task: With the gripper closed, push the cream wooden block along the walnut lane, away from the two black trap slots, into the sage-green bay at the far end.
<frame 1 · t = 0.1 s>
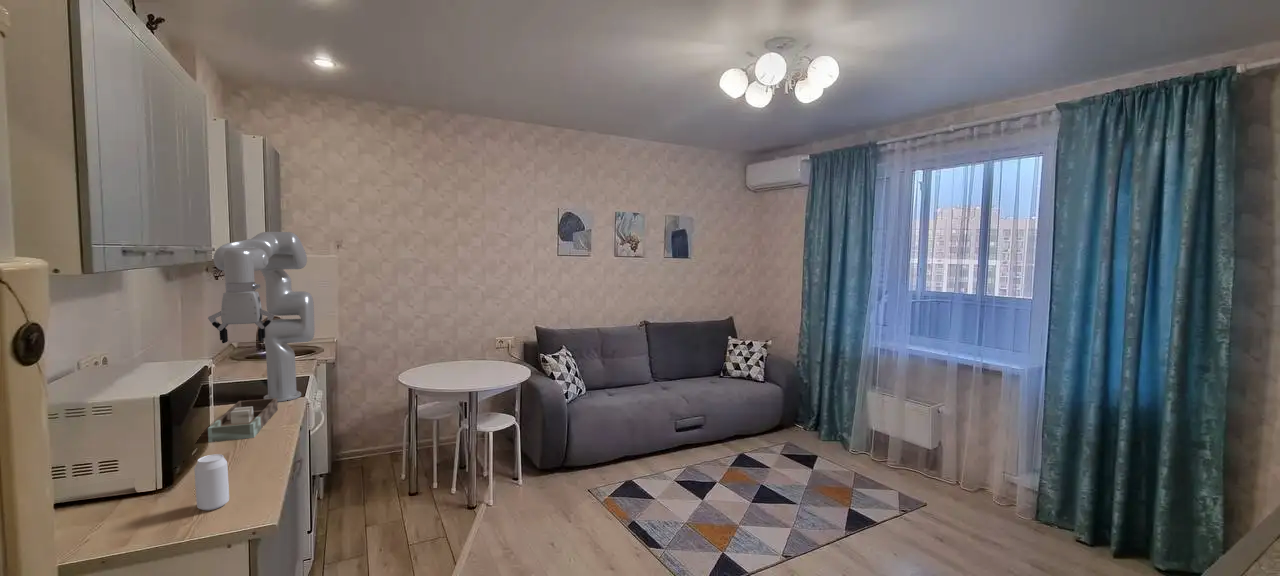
hand: (243, 341, 174), 31 cm above the counter, tool pointing down, fingers open, 9 cm apart
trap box: (246, 424, 188), on the counter
beverage can: (213, 506, 132), on the counter
block: (242, 420, 184), point 2 cm above the counter, touching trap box
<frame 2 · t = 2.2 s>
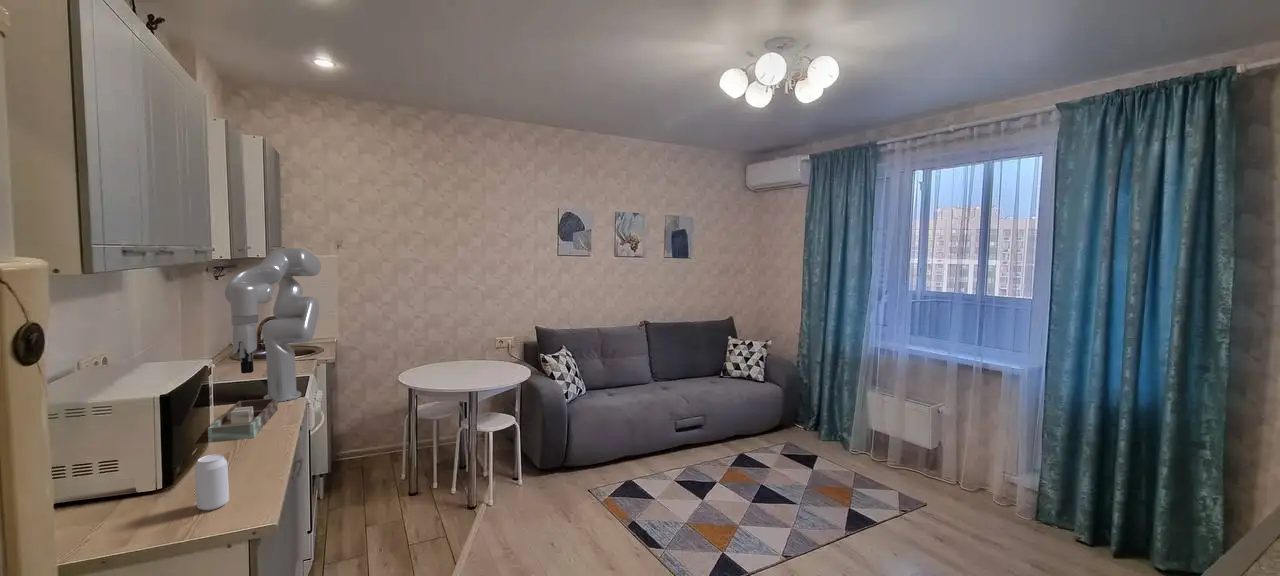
hand: (247, 372, 190), 17 cm above the counter, tool pointing down, fingers closed
nothing on the counter moved.
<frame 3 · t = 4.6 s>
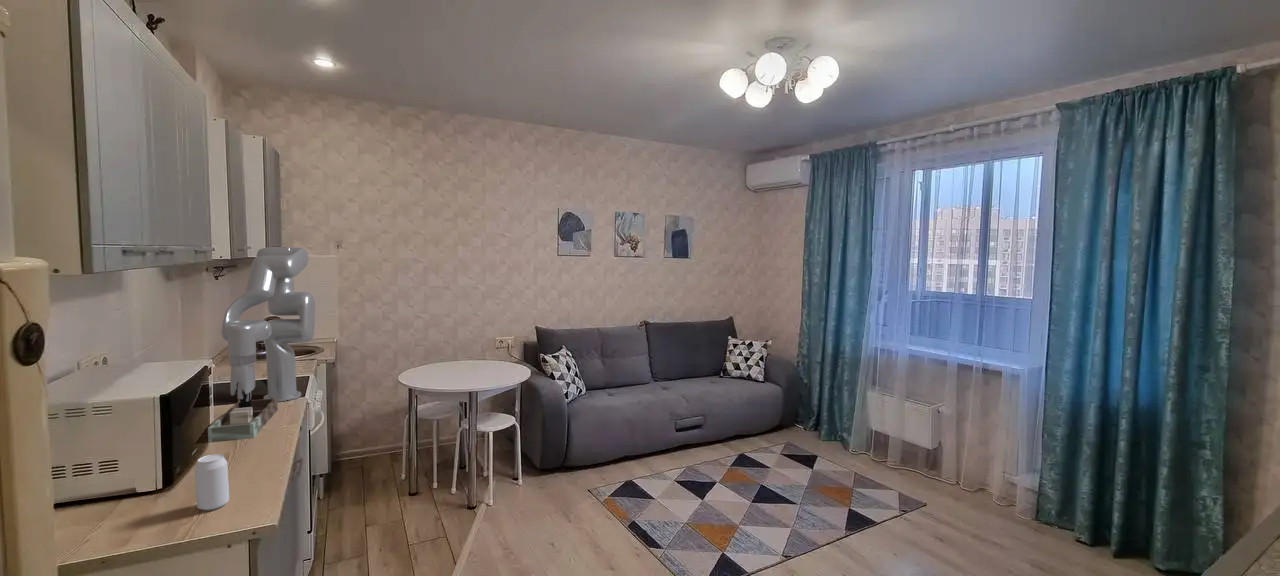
hand: (245, 412, 187), 4 cm above the counter, tool pointing down, fingers closed
block: (241, 421, 183), point 3 cm above the counter, touching gripper, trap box
everything else where it was.
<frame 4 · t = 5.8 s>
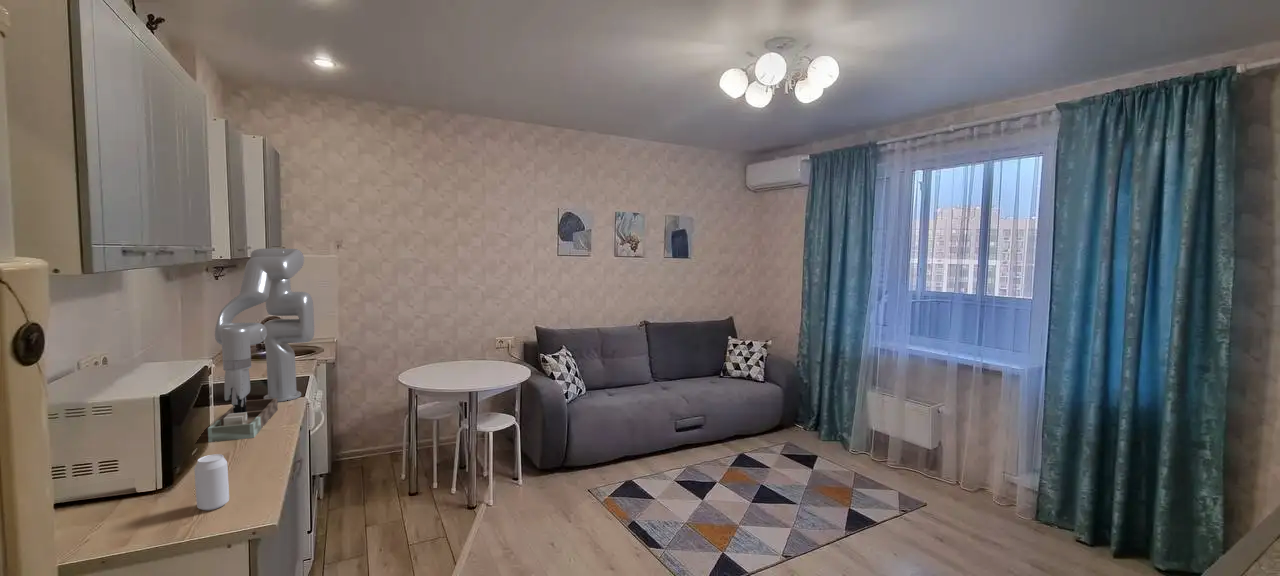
hand: (240, 417, 182), 4 cm above the counter, tool pointing down, fingers closed
block: (236, 427, 178), point 3 cm above the counter, touching gripper, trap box
everything else where it was.
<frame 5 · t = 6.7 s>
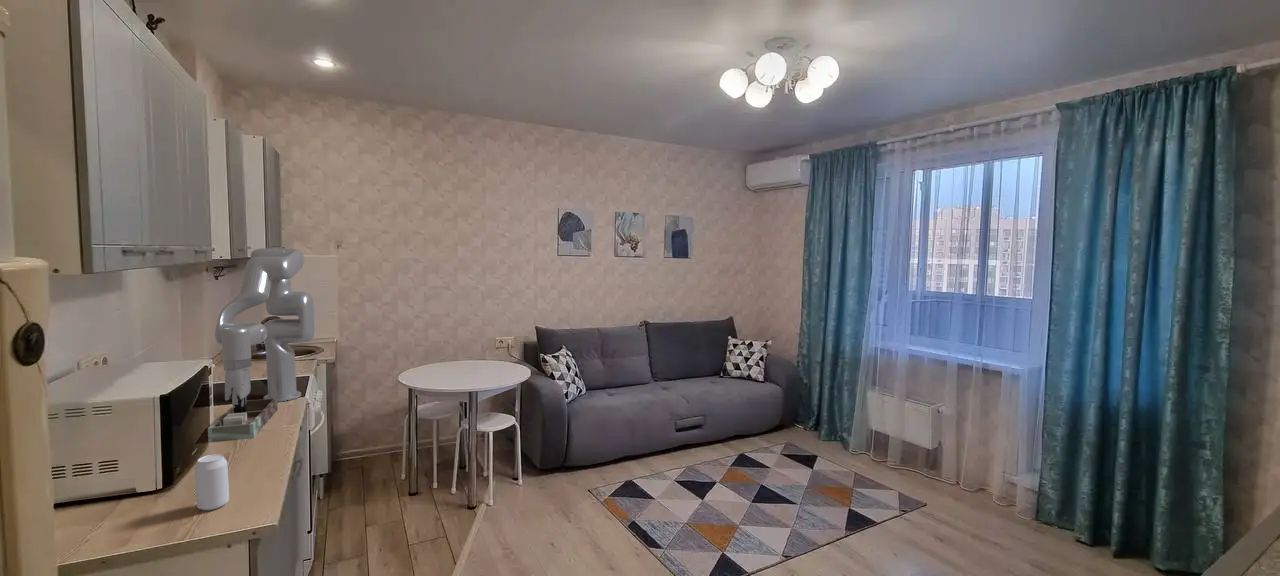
hand: (240, 417, 182), 4 cm above the counter, tool pointing down, fingers closed
block: (235, 427, 178), point 2 cm above the counter, touching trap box
everything else where it was.
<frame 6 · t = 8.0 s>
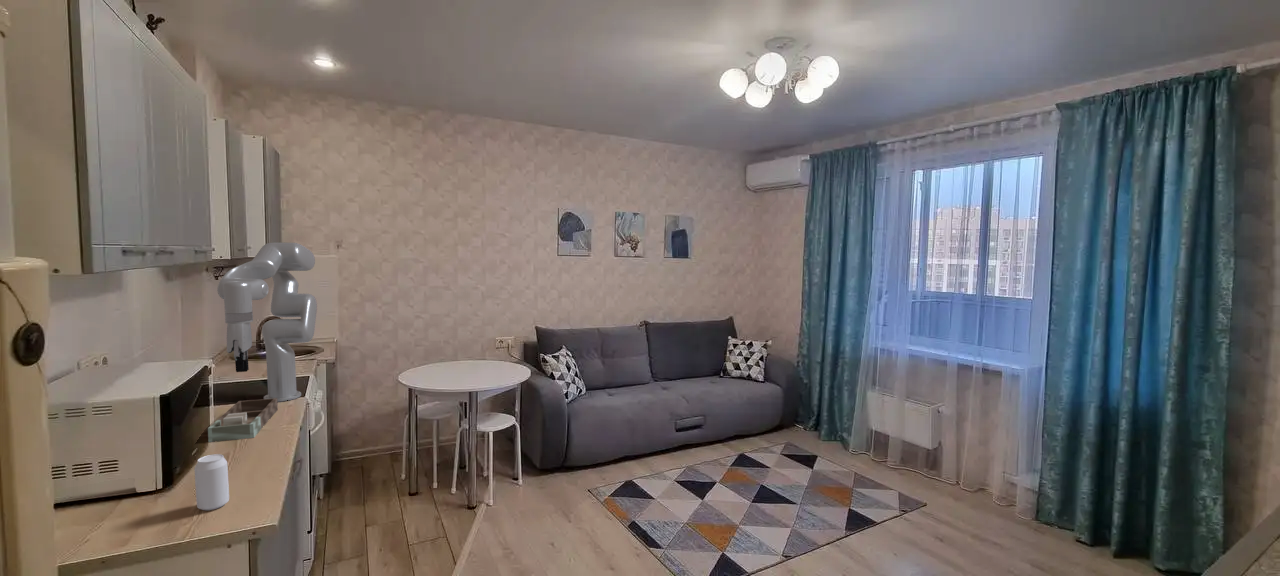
hand: (242, 371, 185), 19 cm above the counter, tool pointing down, fingers closed
nothing on the counter moved.
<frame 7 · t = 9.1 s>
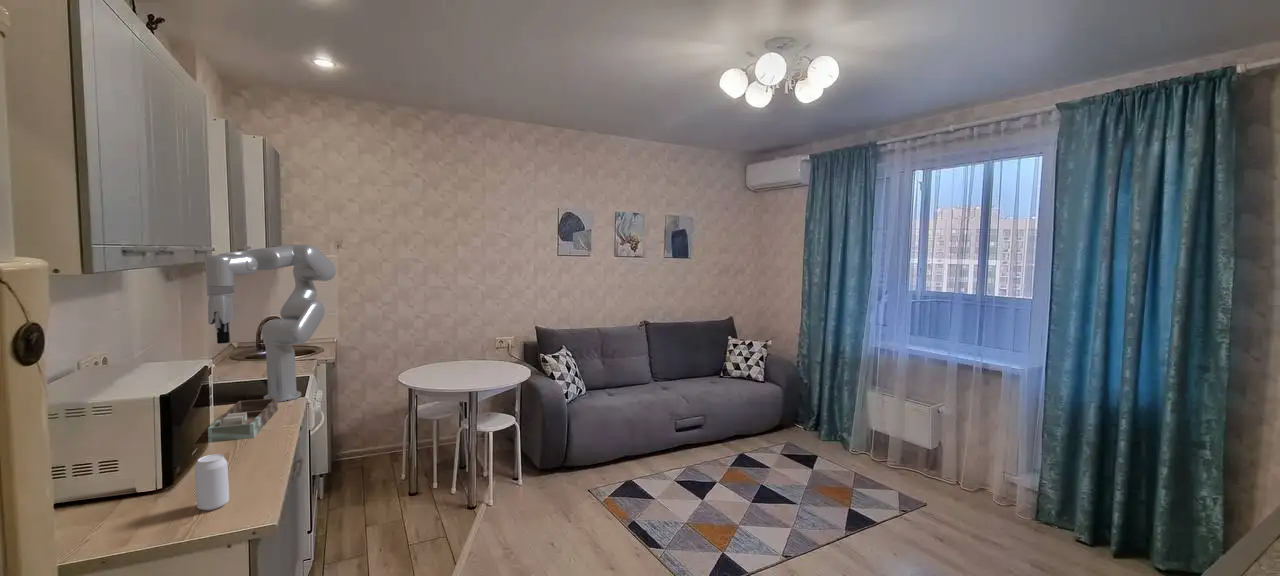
hand: (223, 342, 192), 27 cm above the counter, tool pointing down, fingers closed
nothing on the counter moved.
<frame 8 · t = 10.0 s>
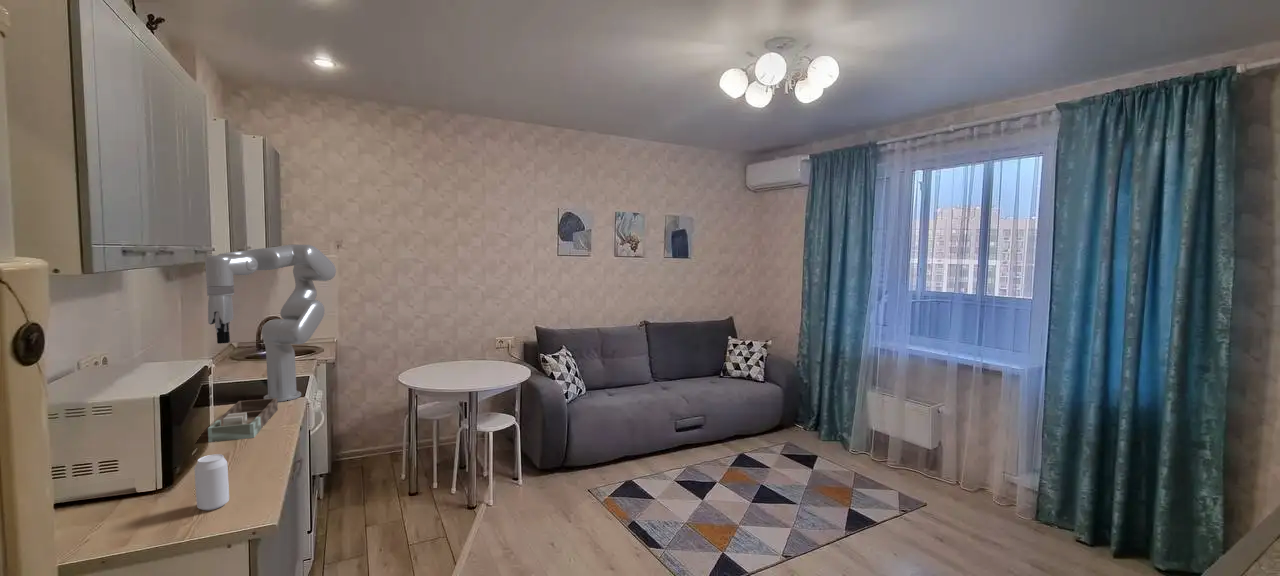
hand: (223, 342, 192), 27 cm above the counter, tool pointing down, fingers closed
nothing on the counter moved.
at the end: block 0.4 cm from the target spot on the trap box, point 2.5 cm above the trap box's base; block tilted 0°; the gripper is holding nothing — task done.
